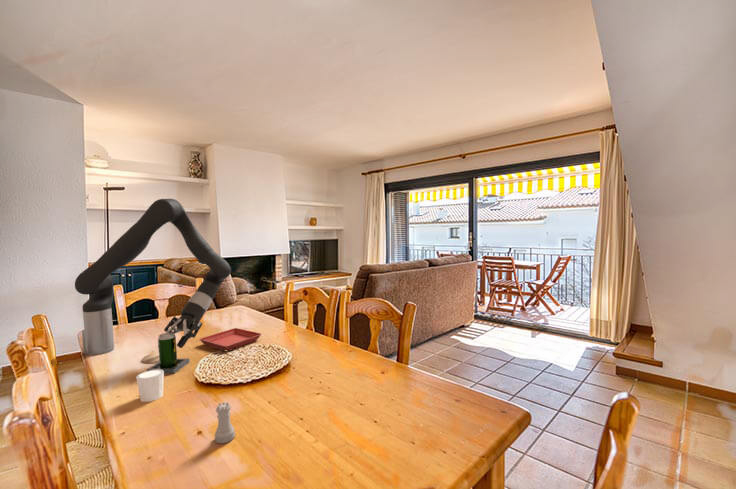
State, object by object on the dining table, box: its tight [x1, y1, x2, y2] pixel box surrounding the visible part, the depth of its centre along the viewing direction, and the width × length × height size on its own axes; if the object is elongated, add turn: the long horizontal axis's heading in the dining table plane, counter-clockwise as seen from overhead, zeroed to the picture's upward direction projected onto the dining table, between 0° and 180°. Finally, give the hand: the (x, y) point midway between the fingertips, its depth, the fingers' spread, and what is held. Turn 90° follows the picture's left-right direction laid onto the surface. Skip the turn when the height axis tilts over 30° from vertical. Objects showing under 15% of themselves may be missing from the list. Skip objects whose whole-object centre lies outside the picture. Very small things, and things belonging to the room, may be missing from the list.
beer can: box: [157, 331, 178, 368], centre depth 124 cm, size 5×5×12 cm
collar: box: [146, 358, 190, 375], centre depth 124 cm, size 10×10×2 cm
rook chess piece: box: [214, 401, 236, 444], centre depth 81 cm, size 4×4×8 cm
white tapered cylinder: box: [135, 369, 165, 403], centre depth 102 cm, size 7×7×7 cm
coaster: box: [141, 351, 160, 364], centre depth 134 cm, size 11×11×1 cm
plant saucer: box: [199, 327, 262, 351], centre depth 149 cm, size 18×18×3 cm
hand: (170, 345), depth 125 cm, fingers open, 8 cm apart
